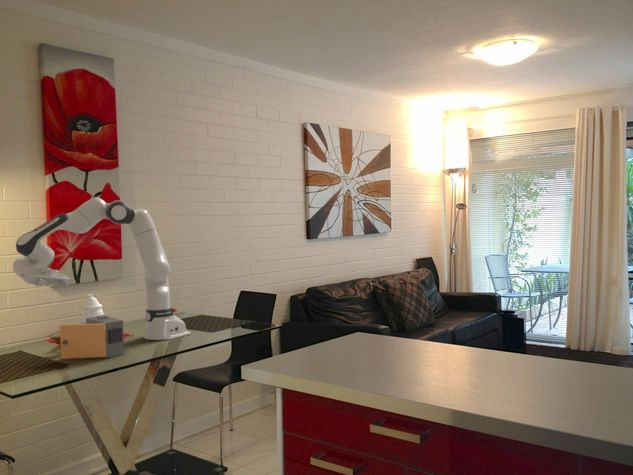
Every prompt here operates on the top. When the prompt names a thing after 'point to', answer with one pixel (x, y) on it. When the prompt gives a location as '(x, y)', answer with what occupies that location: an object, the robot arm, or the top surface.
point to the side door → (83, 341)
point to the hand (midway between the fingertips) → (57, 284)
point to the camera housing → (111, 334)
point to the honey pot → (90, 309)
